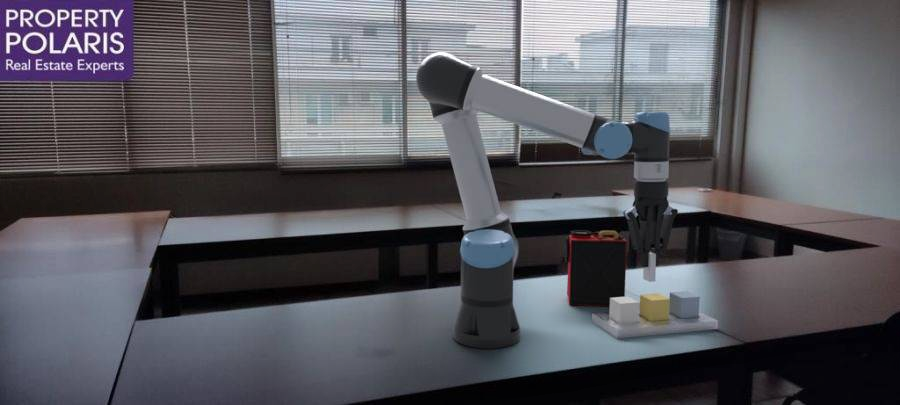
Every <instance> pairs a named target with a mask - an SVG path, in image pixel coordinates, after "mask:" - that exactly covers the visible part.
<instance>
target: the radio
mask: <svg viewBox="0 0 900 405" xmlns="http://www.w3.org/2000/svg"><path fill="white" fill-rule="evenodd" d="M564 245H565V246H564V256H565V259H564V260H565V263H567V283H566V284H567V287H566V288H567V289H566V294H567V302H568V305H569V306H593V307H594V306H595V307H610V298H614V297H626V295H625V294H626V271H627V270H626V269H627V248H628V246H627V245H628V240H626V239H625V237H624V235H621V233H618V232H617V231H616V230H600V231H595V232H593V231H589V230H584V229H583V230H581V229H576V230H570V234H569V235H568V237H565V244H564Z"/></svg>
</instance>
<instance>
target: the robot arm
mask: <svg viewBox="0 0 900 405" xmlns="http://www.w3.org/2000/svg"><path fill="white" fill-rule="evenodd" d="M415 79H416V80H415V82H416V86H417V88H418V89H417V90H418V91H419V92H420V94H421V96H422V97H423V98H424V99H425V100H426V101H428V104H429V106H430V107H429V108H430V109H431V110H430V111H431V114H432V118H433V120H434V121H436V122H437V123H439V124H440V125H441V127H442V131H443V135H444V139H445V143H446V147H447V150H448V151H447V152H448V155H449V158H450V162H451V166H452V169H453V172H454V178H455V181H456V186H457V188H458V193H459V196H460V200H461V203H462V207H463V208H462V209H463V211H464V214H465V218H466V221H465V223H464V225H463V226H462V232H463V237H462V239H461V243H460V244H461V245H460V247H459V248H460V249H459V253H460V304H459V307H458V310H457V313H456V317H455V320H454V322H453V325H452V338H453V340H455V342H457V343H458V344H461V345H463V346H467V347H471V348H475V349H488V350H489V349H501V348H507V347H510V346H513V345H515V344H517V343H518V342H519V341H520V340H521V326H520V323H519V320H518V316H517V312H516V310H515V307H514V269H515V265H516V263H517V260H518V257H519V254H520V253H519V250H520V245H519V242H518V240H517V238H516V235H515V234H514V232H513V228H512V227H513V226H512V224H511V221H510V218H509V215H507V214H506V213H504V212H502V210H501V207H500V203H499V199H498V194H497V190H496V187H495V184H494V183H495V182H494V180H493V175H492V173H491V168H490V164H489V160H488V155H487V153H486V148H485V144H484V141H483V137H482V133H481V129H480V124H479V120H478V118H477V114H478V112H480V113H481V112H482V113H483V114H486V115H489V116H491V117H495V118H498V119H500V120H503V121H507V122H509V123H512V124H515V125H517V126H519V127H523V128H526V129H528V130H532V131H534V132H537V133H539V134H543V135H545V136H548V137H551V138H553V139H556V140H558V141H562V142H563V143H567V144H570V145H573V146H576V147H578V148H581V152H582V154H583V155H589V156H590V155H593V156H601V157H602V158H604V159H605V158H606V159H608V160H616V159H619V158H621V157H623V156H625V155H634V162H633V164H634V165H633V178H634V179H636V180H634V182H633V197H634V200H633V201H632V202H633V203H632V207H630V208H629V209H628V210H623V212H622V214H623V216H624V217H625V219H626V223H627V227H628V231H629V236H630V241H631V245H632V249H633V251H634V250H635V251H637V252H639V253H640V266H641V267H642V268H643V272H642V273H643V274H642V275H643V277H642V278H643V280H644V281H647V282H649V283H650V282H651V283H652V282H656V273H657V272H656V270H657V269H656V268H657V267H658V266H659V257H660V256H659V255H660V254H662V251H665V250H667V249H668V245H669V242H670V237H671V232H672V228H673V223H674V220H675V218H676V217H677V214H678V212H679V211H678V209H676V208H673V207H672V206H671V205H670V204H669V201H668V196H669V185H670V184H669V183H670V182H669V181H668V180H667V179H668V178H669V172H670V170H669V168H670V166H669V165H670V163H669V162H670V158H669V157H670V136H671V130H670V129H671V128H670V115H669V114H668V113H667V112H666V111H646V112H645V111H642V112H640V111H639V112H636V113H635V114H634V115H635V116H634V119H633V120H630V121H629V120H628V121H617V120H612V119H610V118H606V117H604V116H601V115H597V114H595V113H592V112H590V111H587V110H584V109H582V108H579V107H576V106H573V105H570V104H567V103H564V102H562V101H559V100H556V99H554V98H551V97H548V96H545V95H543V94H539V93H537V92H534V91H531V90H528V89H526V88H522V87H520V86H517V85H514V84H511V83H508V82H506V81H503V80H500V79H497V78H495V77H492V76H489V75H486V74H484V73H483V71H482V69H481V68H480V67H478V66H475V65H473V64H471V63H467V61H465V60H463V59H462V58H460V57H458V56H457V55H454V54H452V53H449V52H445V51H441V52H439V51H438V52H435V53H431V54H429V55H428V56H426V57H425V58H424V59H423V60H422V61H421V63H419V65H418V68H417V71H416V77H415ZM637 216H638V219H637ZM638 223H639V224H638Z"/></svg>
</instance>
